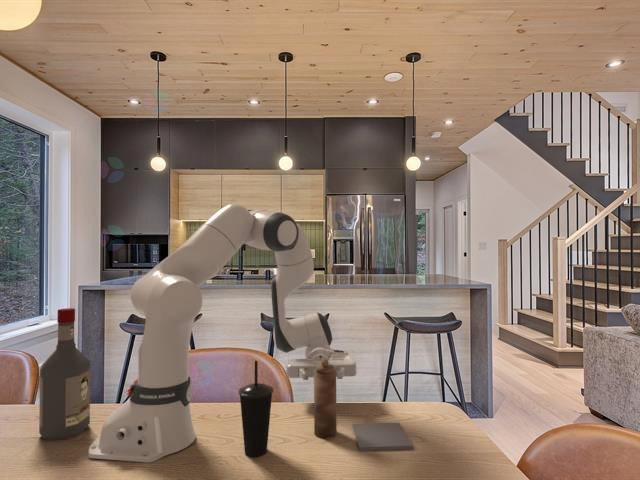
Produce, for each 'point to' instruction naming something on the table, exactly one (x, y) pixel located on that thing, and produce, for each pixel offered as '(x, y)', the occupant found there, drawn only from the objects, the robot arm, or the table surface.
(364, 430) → the trivet
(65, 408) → the liquor
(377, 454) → the table surface
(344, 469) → the table surface
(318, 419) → the pepper mill
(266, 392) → the drinking cup
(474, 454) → the table surface
